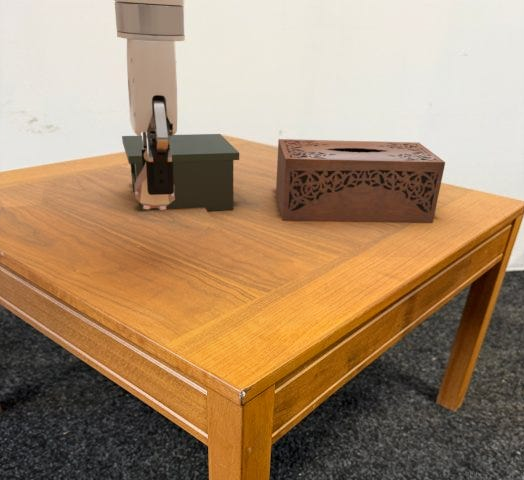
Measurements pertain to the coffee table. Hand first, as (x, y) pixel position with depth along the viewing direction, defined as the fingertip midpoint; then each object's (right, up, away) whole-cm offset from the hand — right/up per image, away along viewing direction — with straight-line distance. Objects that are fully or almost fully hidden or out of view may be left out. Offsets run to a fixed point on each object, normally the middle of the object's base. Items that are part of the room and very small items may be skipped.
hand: (158, 185), depth 71 cm
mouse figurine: (-1, -1, +3) cm, 3 cm away
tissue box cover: (+29, +4, +28) cm, 41 cm away
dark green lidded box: (-1, +6, +29) cm, 30 cm away
